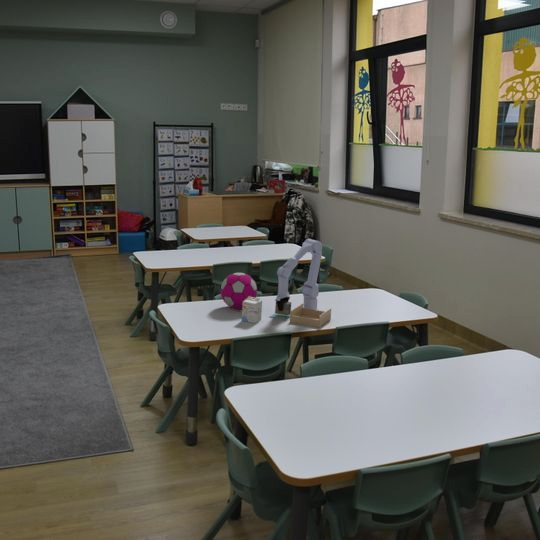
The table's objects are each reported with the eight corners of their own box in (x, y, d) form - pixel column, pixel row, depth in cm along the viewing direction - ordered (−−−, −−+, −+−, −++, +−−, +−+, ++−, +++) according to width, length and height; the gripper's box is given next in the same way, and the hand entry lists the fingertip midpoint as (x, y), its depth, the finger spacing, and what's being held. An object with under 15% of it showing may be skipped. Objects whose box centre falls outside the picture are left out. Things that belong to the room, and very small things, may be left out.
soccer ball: (249, 315, 397) (250, 278, 392) (214, 310, 404) (215, 275, 399) (261, 305, 418) (262, 271, 413) (228, 301, 424) (228, 267, 419)
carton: (301, 314, 402) (302, 303, 400) (330, 319, 394) (331, 308, 393) (289, 322, 386) (290, 311, 384) (319, 327, 378) (320, 315, 377)
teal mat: (277, 312, 404) (277, 312, 404) (294, 315, 400) (294, 314, 400) (269, 317, 395) (269, 316, 395) (286, 320, 390) (286, 319, 390)
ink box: (241, 320, 386) (242, 298, 383) (248, 317, 394) (249, 295, 390) (254, 323, 382) (255, 300, 379) (261, 319, 390) (262, 297, 387)
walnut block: (278, 311, 400) (279, 299, 399) (290, 313, 397) (291, 302, 395) (275, 313, 396) (275, 301, 395) (287, 315, 393) (288, 304, 391)
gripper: (284, 291, 385) (283, 313, 388) (294, 285, 398) (293, 307, 401) (273, 289, 388) (272, 312, 391) (283, 284, 401) (282, 306, 404)
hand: (282, 309), depth 396 cm, fingers closed on walnut block, 4 cm apart
